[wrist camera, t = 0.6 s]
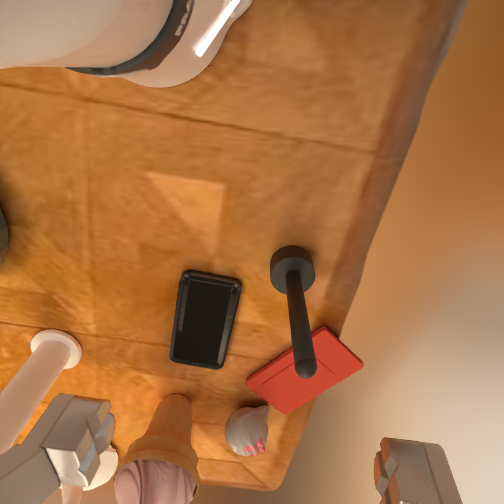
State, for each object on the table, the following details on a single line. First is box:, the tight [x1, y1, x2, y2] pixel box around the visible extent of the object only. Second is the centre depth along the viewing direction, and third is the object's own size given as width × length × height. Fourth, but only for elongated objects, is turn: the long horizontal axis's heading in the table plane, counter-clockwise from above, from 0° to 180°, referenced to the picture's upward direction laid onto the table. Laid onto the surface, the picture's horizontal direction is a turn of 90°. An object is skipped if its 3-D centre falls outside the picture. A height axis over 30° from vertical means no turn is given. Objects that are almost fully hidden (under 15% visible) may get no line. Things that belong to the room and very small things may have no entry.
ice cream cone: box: [113, 394, 200, 504], centre depth 47 cm, size 11×11×20 cm
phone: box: [169, 270, 242, 370], centre depth 48 cm, size 8×1×15 cm
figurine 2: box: [225, 405, 269, 456], centre depth 53 cm, size 6×7×8 cm
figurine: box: [59, 445, 118, 504], centre depth 56 cm, size 16×12×20 cm
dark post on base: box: [270, 246, 317, 379], centre depth 36 cm, size 5×5×18 cm
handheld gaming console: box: [246, 326, 364, 414], centre depth 51 cm, size 9×1×15 cm
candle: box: [0, 329, 82, 455], centre depth 40 cm, size 7×7×25 cm
